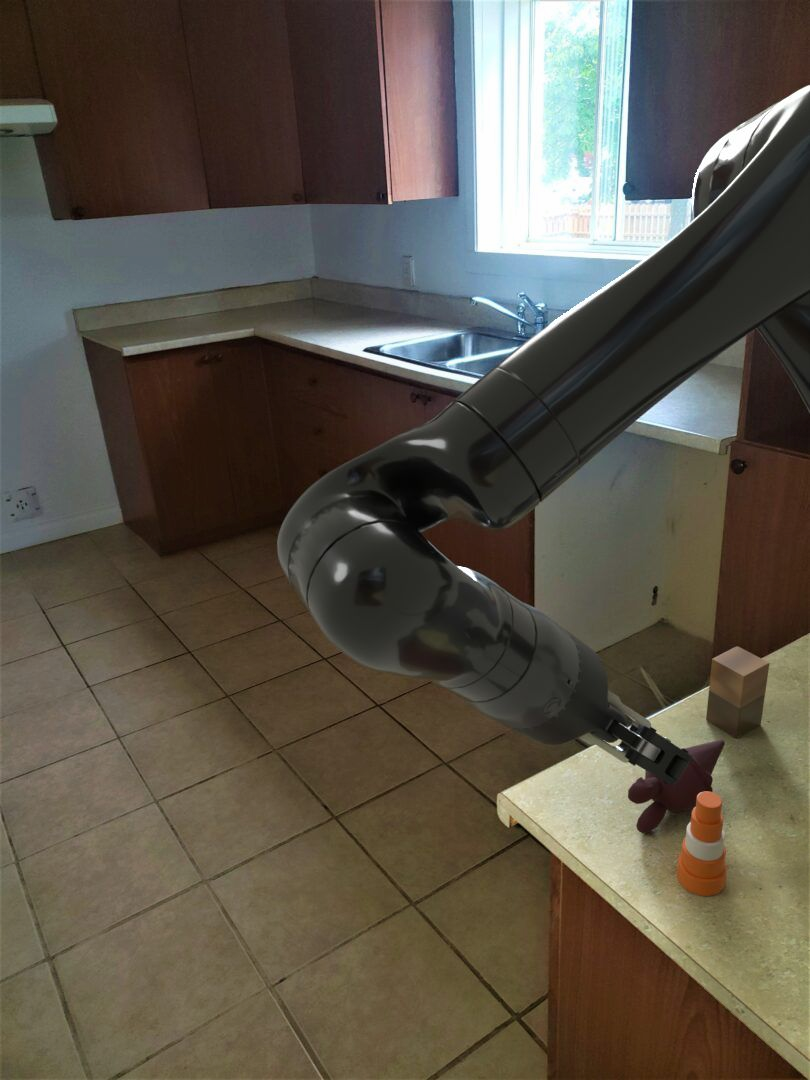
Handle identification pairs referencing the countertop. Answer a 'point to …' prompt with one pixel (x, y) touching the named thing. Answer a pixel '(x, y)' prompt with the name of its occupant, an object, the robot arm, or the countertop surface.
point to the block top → (738, 676)
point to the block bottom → (734, 715)
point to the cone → (704, 848)
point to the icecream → (676, 786)
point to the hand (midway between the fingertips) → (632, 738)
